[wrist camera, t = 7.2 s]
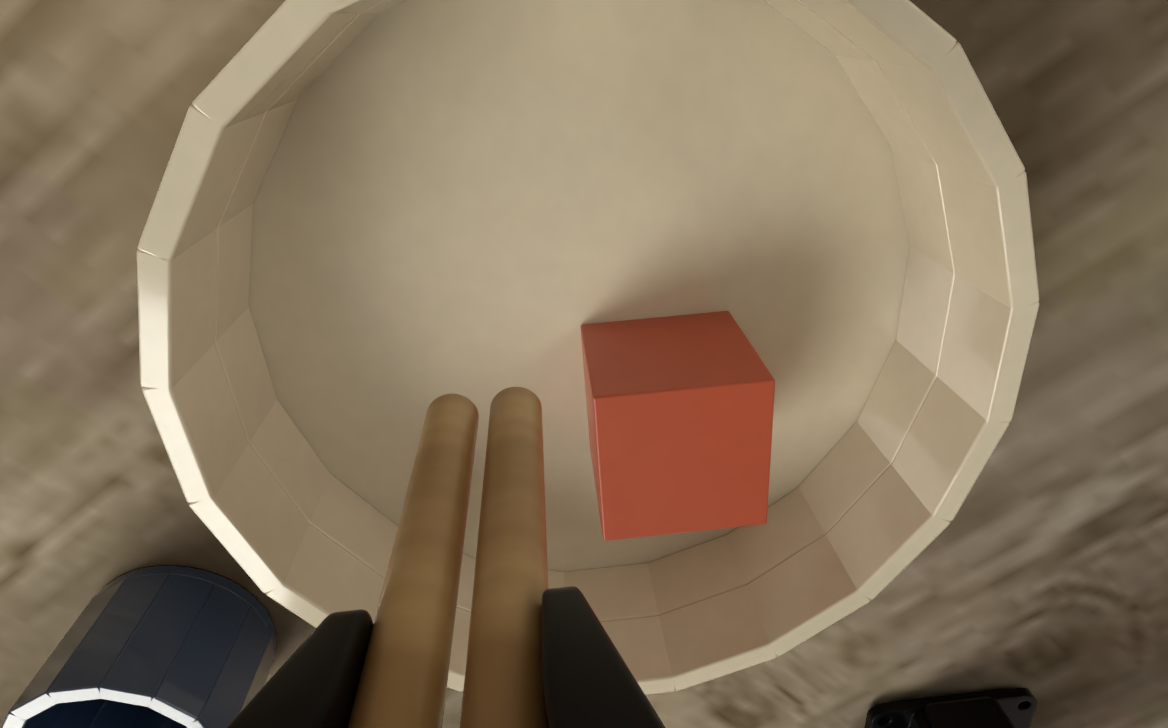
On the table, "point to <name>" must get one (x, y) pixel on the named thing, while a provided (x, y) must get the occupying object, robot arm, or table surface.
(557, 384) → the bowl
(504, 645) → the chopsticks
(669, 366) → the block
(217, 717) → the holder
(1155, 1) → the table surface
